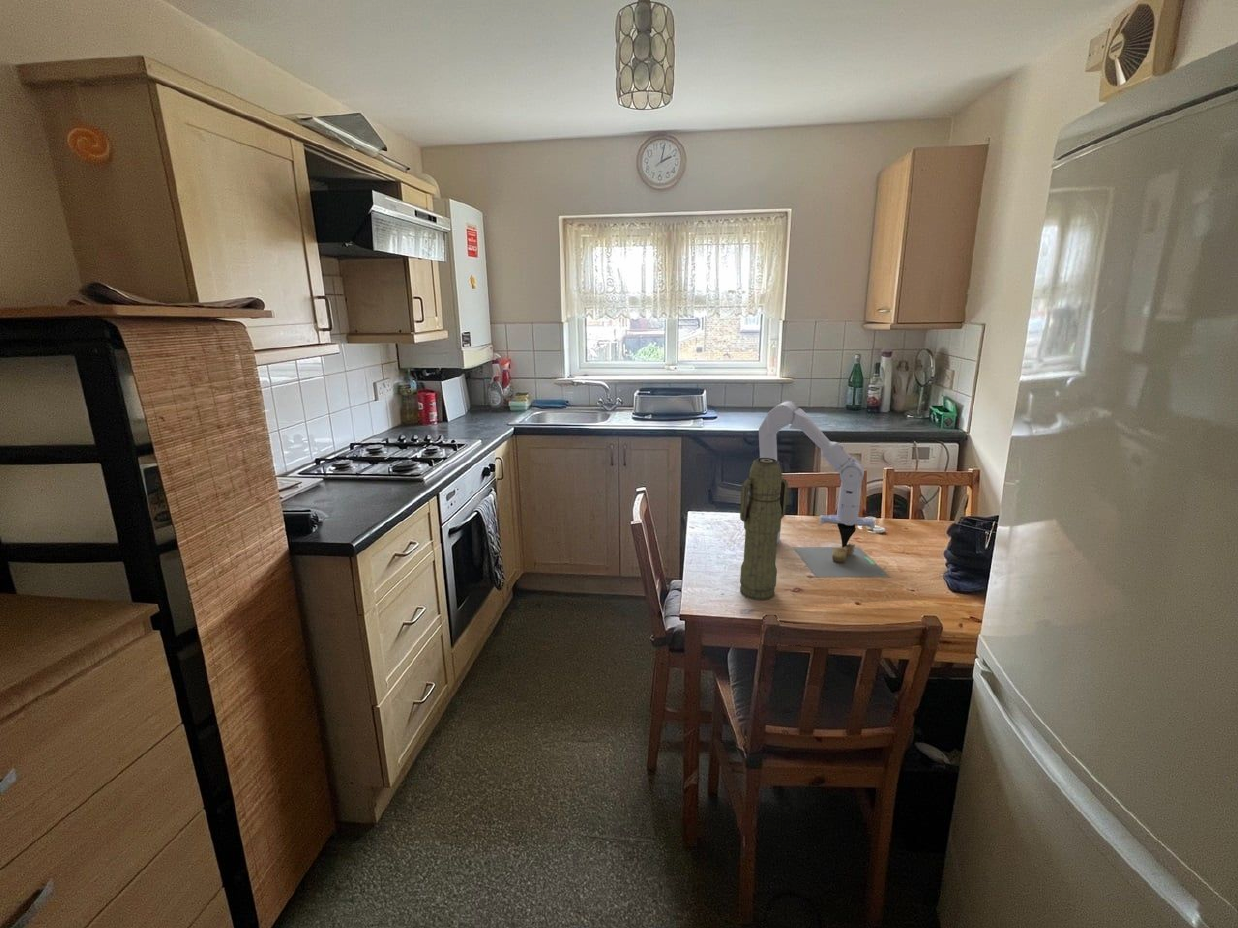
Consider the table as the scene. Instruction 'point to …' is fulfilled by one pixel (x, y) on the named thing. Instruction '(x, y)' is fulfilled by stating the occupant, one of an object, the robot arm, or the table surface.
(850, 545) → the olive brown knobbed bar
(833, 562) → the board
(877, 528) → the teacup and saucer
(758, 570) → the olive green tall cylinder
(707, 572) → the table surface
